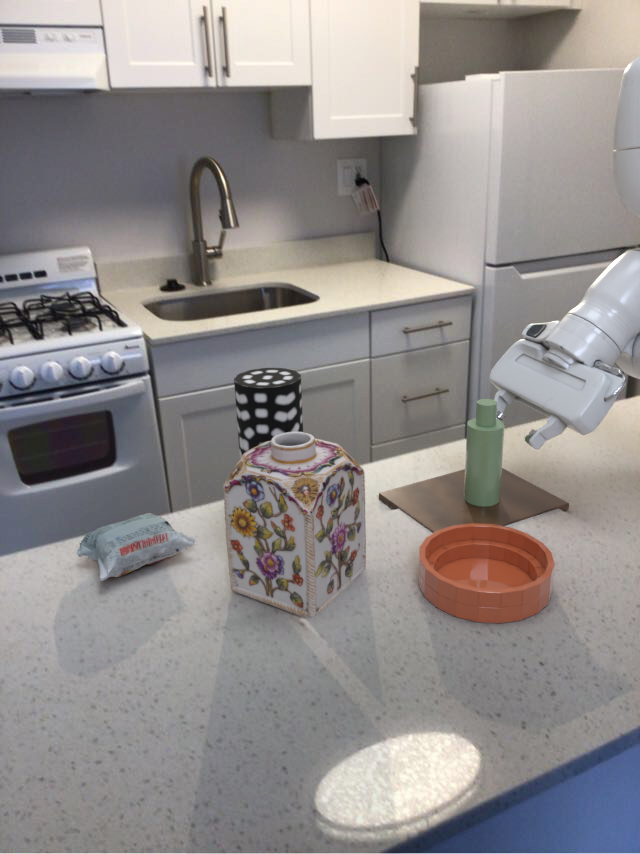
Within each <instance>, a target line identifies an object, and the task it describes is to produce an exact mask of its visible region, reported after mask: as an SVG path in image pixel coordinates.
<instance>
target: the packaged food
mask: <svg viewBox="0 0 640 854" xmlns="http://www.w3.org/2000/svg"><path fill="white" fill-rule="evenodd" d="M194 545H195V538H194V537H190V536H188V535H186V534H184V533H183V532H179V531H177V530H176V529H174V527H173V526H172V525H171V523H170V522H169V521H167V519H166V518H164V517H162V516H159V515H156V514H154V513H151V512H146V513H144V514H139V515H136V516H133V517H129V518H128V519H125V520H121V521H117V522H114V523H110V524H108V525H103V526H101V527H99V528H96V529H94V530H92V531H89V532H88V533H86V534H85V535H84V537H83V538H82V539H81V541H80V543H79V548H77V551H76V554H77V557H79V558H81V557H87V558H88V559H90V560H93V561H95V562H97V566H98V573H99V576H98V577H99V581H100V582H103V581H106V580H107V579H109V578H112V577H113V578H120V577H122V576H124V575H126V574H129V573H132V572H134V571H137V570H138V569H140V568H142V567H144V566H148V565H149V566H150V565H154V564H156V563H159V562H161V561H162V560H164V559H168V558H170V557H173V556H175V555H179V554H180V553H182V552H183V551H184V550H188V548H189V549H190V548H191V547H193V546H194Z"/></svg>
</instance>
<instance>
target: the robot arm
mask: <svg viewBox="0 0 640 854" xmlns="http://www.w3.org/2000/svg"><path fill="white" fill-rule="evenodd" d="M617 95H618V96H617V101H616V108H615V117H614V128H613V143H612V144H613V145H612V147H613V148H612V149H613V152H612V176H613V185H614V188H615V192H616V196H617V198H618V200H619V202H620V203H621V204H622V206H623V207H624V208H625V209H626V210H627V211H629V213H631V214H632V215H633V216H635V218H638V220H639V219H640V55H638V56H636V57H635V58H634V59H632V60H631V62H629V64H628V65H627V66H626V68H625V69H624V71H623V73H622V76H621V81H620V85H619V91H618V94H617ZM521 336H522V338H523V339H519V340H517V341H515V342H514V343H512V345H511V346H510V347H509V348H508V349H507V350H506V351H505V352H504V354H502V356H501V357H500V358H499V360H498V361H497V362H496V363H495V364H494V366H493V367H492V368H491V371H490V373H489V376H488V377H489V378H488V380H489V382H490V383H491V384H492V385H493V386H494V387H495V388H496V389H497V392H496V393H495V395H494V398H493V400H495V401H497V416H496V419H498V420H501V421H502V422H503V421H504V419H505V418H506V415H505V414H504V413H505V410H506V407H507V405H509V406H510V405H512V403H513V402H514V401H517V402H519V403H520V404H523V405H525V406H526V407H529V408H531V409H533V410H534V411H536V412H538V413H540V414H542V415H544V416H545V417H548V418H547V419H546V422H547V423H545V424H544V425H542V426H541V427H539V428H538V429H536V430H535V429H533V428H532V429H531V430H530V431H529V432H528V434H527V435H526V436H525V437H524V442H526V443H527V444H528V445H529V446H530V447H531V448H533V449H535V450H540V449H541V448H542V446H543V445H544V444H545V443H546V442H547V441H549V440H551V439H553V438H556V437H557V436H560V435H562V434H563V432H565V430H567V428H568V429H570V430H572V431H574V432H576V433H577V434H579V435H581V436H586V435H589V434H591V433H593V432H595V430H597V428H598V427H599V426H600V424H601V423H602V422H603V420H604V419H605V418H606V416H607V415H608V413H609V412H610V410H611V408H612V407H613V405H614V404H615V402H616V400H617V398H618V395H619V393H621V391H622V390H623V389H624V388H625V386H626V384H627V382H626V380H627V377H626V375H628V376H630V377H632V378H635V379H637V380H640V249H629V250H627V251H625V252H624V253H622V254H621V255H619V256H618V257H617V258H615V259H614V260H613V261H612V262H611V263H610V264H609V265H608V266H607V267H606V268H605V269H604V270H603V271H602V272H601V274H599V276H598V277H596V278H595V280H594V281H593V282H592V284H591V285H590V286H589V287H588V288H587V289H586V291H585V294H584V296H583V298H582V299H581V301H580V302H579V303H578V304H577V305H576V306H575V307H573V308H572V309H571V310H569V311H568V312H567V313H566V314H565V315H564V316H563V317H562V319H561V320H553V321H549V322H540V323H539V322H538V323H537V322H535V323H530V324H528V325H527V326H526V327H525V328H524V329H523V331H522V332H521ZM613 365H615V366H613ZM625 374H626V375H625Z"/></svg>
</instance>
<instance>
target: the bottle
mask: <svg viewBox="0 0 640 854" xmlns="http://www.w3.org/2000/svg"><path fill="white" fill-rule="evenodd" d="M496 416H497V401H495V400H494V399H491V398H481V399H478V400H476V410H475V417H473V418H471V419H469V420H468V421H467V422H466V442H465V444H466V445H465V464H464V465H465V466H464V469H465V486H464V499H465V501H466V502H468V503H469V504H471V505H475V506H480V507H488V506H493V505H496V504H498V503H499V501H500V491H501V475H502V468H503V459H504V441H505V428H506V427H505V425H506V424H505V422H504V421H503V420H502V421H501V420H498V419H496Z"/></svg>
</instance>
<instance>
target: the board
mask: <svg viewBox="0 0 640 854" xmlns="http://www.w3.org/2000/svg"><path fill="white" fill-rule="evenodd" d="M464 486H465V468H464V469H460V470H457V471H453V472H449V473H446V474H445V473H444V474H442V475H439V476H435V477H432V478H431V477H430V478H428V479H424V480H420V481H417V482H413V483H410V484H406V485H403V486H399V487H396V488H392V489H388V490H384V491H380V492H379V493H378V500H379V501H381V502H382V503H384V504H385V505H386V506H388V507H389V508H391V510H400V511H401V512H402V513H404V514H406V516H408V517H410V518H411V519H412V520H414V521H415V522H417V523H418V524H420V525H421V526H422V527H424V528H425V529H426V530H428V531H429V532H431V534H433V533H434V532H436V531H437V530H440V529H443V528H446V527H450V526H453V525H461V524H470V523H478V524H495V525H500V526H505V527H507V526H509V525H512V524H515V523H518V522H521V521H525V520H527V519H531V518H534V517H536V516H540V515H543V514H546V513H548V512H552V511H554V510H558V509H559V510H560V511H562V512H566V511H568V510H569V509H570V502H568V501H566V500H564V499H562V498H561V497H559V496H557V495H555V494H553V493H551V492H550V491H547V490H545V489H544V488H541V487H539V486H537V485H536V484H534V483H532V482H531V481H528V480H526V479H525V478H522V477H520V476H518V475H517V474H515V473H512V472H511V471H509V470H507V469H505V468H503V467H502V475H501V491H500V501H499V503H498V504H496V505H493V506H488V507H480V506H475V505H471V504H469V503H468V502H466V501H465V499H464Z"/></svg>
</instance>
